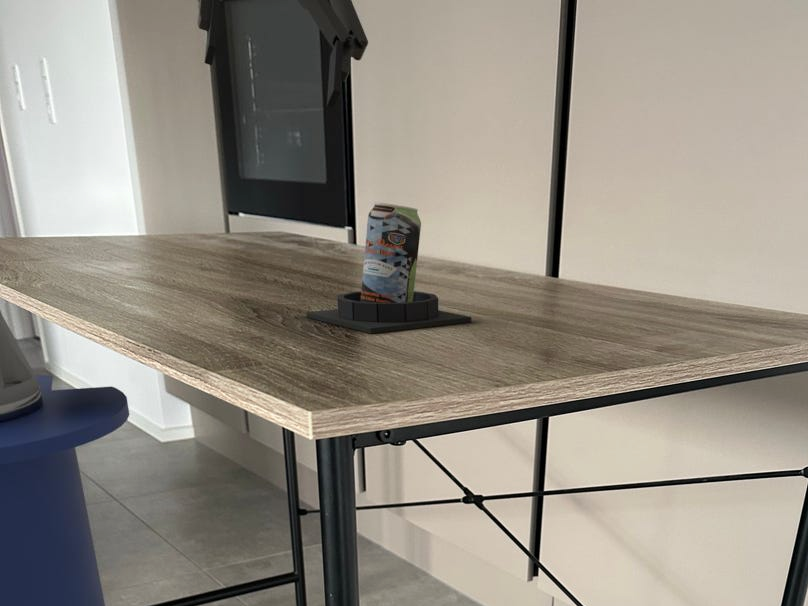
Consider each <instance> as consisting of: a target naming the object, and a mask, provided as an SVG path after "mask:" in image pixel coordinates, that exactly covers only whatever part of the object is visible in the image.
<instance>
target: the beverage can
mask: <svg viewBox="0 0 808 606" xmlns="http://www.w3.org/2000/svg"><path fill="white" fill-rule="evenodd" d="M373 204H374V205H373V207H372V208H371V209H370V211H369V213H368V215H367V222H366V223H367V224H366V233H365V235H366V237H365V247H364V258H363V269H362V279H361V290H360V291H361V302H375V303H404V302H413V294H414V291H415V283H416V274H417V266H418V257H419V247H420V237H421V231H422V221H421V219H420V216H419V214H418V211H419V210H418V208H415V207H409V206H406V205H405V206H404V205H399V204H392V203H385V202H377V201H375V202H374V203H373Z"/></svg>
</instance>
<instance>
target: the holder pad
mask: <svg viewBox="0 0 808 606" xmlns="http://www.w3.org/2000/svg"><path fill="white" fill-rule="evenodd" d="M336 297H337V309H327V310H315V311H306V318H307V319H312V320H316V321H320V322H325V323H327V324H332V325H336V326H340V327H343V328H347V329H348V328H349V329H351V330H356V331H359V332H363V333H367V334H380V333H389V332H390V333H391V332H397V331H405V330H414V329H415V330H416V329H423V328H432V327H433V328H434V327H442V326H448V325H449V326H450V325H457V324H469V323H472V316H468V315H463V314H459V313H454V312H449V311H444V310H439V297H438V296H437V295H436V294H435V293H430V292H425V291H416V290H414V294H413V302H404V303H375V302H361V290H360V291H350V292H346V293H345V292H344V293H341V294H337V296H336Z"/></svg>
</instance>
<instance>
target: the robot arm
mask: <svg viewBox="0 0 808 606" xmlns="http://www.w3.org/2000/svg"><path fill="white" fill-rule="evenodd" d="M297 1H298V3H299V5H300V6H301V8H302V9H304V10H306V11H307V12H308V13H309V15H310V16H311V18H312V20H313V21H314V22H315V24H316V26H317V27H318V29H319V30H320V32H321V33H322V35H323V36H324V38H325V39H326V41H327V42H328V44H329V46H330V47H331V49H332V51H331V53H330V55H329V65H328V66H329V68H328V80H327V81H328V82H327V95H326V96H327V99H326V107H328V108H332V109H335V106H336V103H337V101H338V98H339V96H340V95H341V87H342V82H346V80H347V78H348V76H349V75H350V71H351V62H352V58H353V59H354V60H355V61H357V62H358V61H361V60H362V58H363V56H364V54H365V52H366V49H367V47H368V45H369V40H368V38H367V35H366V33H365V30H364V27H363V26H362V23H361V20H360V17H359V15H358V13H357V11H356V8H355V5H354V3H353V1H352V0H297ZM197 2H198V4H197V9H198V12H197V13H198V14H197V15H198V16H197V27H198V29H200V30H202V31H205V32H207V34H206V43H205V53H204V54H205V56H204V64H206V65H209V66H213V62H214V58H215V54H216V50H217V42H218V33H219V22H220V21H219V20H220V9H221V2H223V0H197ZM36 375H37V374H36V373H35V372H34V370H33V368H32V366H31V364H30V363H29V361H28V359H27V357H26V356H25V353H24V352H23V350H22V349H21V346H20V344H19V343H18V341H17V339H16V337H15V336H14V334H13V331H12V330H11V328H10V326H9V324H8V323H7V321H6V319H5V318H4V316H3V313H2V311H1V310H0V423H4V422H8V421H12V420H15V419H18V418H21V417H24V416H27V415H29V414H31V413H33V412H35V411H37V410H38V409H39V408H40V407H41V406H42V405H43V400H42V395H41V390H40V386H39V385H38V380H37V378H36Z"/></svg>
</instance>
